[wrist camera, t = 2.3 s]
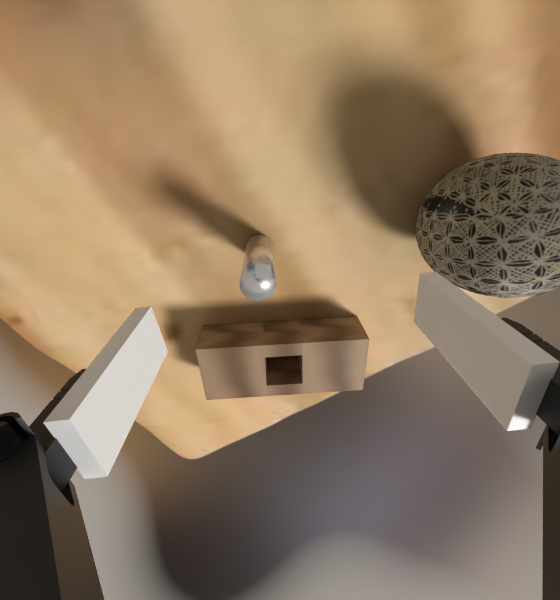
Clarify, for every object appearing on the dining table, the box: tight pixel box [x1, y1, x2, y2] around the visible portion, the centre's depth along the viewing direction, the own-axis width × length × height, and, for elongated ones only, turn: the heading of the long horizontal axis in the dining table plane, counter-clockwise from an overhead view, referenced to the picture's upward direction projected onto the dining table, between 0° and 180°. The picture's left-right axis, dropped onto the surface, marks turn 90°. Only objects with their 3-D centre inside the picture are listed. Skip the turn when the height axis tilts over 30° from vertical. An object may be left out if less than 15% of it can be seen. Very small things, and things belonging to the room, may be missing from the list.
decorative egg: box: [416, 153, 560, 298], centre depth 25 cm, size 12×12×15 cm
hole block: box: [195, 316, 369, 400], centre depth 37 cm, size 20×8×5 cm, turn 92°
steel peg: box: [240, 234, 276, 301], centre depth 28 cm, size 3×3×10 cm
